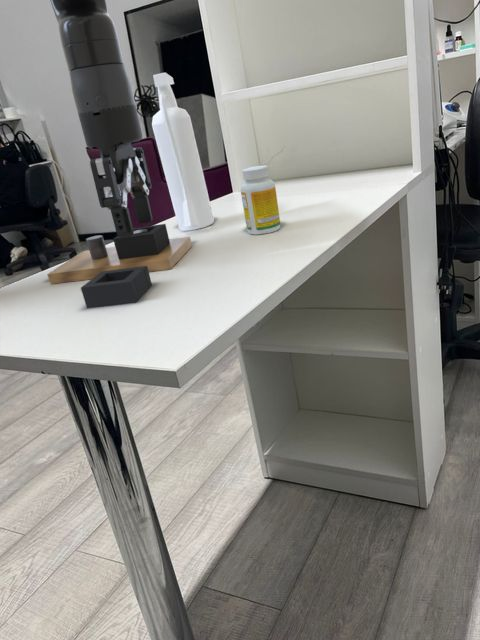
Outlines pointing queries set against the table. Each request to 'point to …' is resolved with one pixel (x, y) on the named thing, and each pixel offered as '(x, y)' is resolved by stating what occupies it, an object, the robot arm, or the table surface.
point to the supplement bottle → (259, 201)
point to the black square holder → (142, 242)
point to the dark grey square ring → (116, 287)
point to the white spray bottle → (180, 159)
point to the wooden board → (116, 260)
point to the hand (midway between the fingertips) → (136, 228)
